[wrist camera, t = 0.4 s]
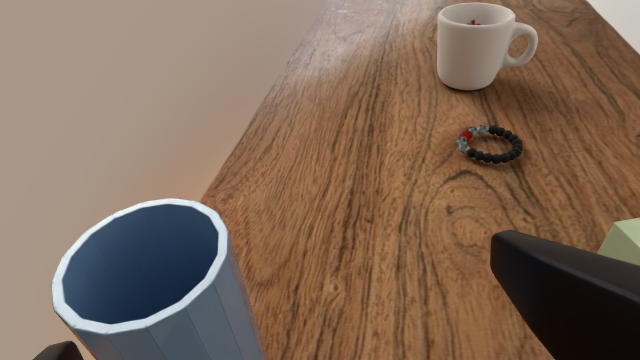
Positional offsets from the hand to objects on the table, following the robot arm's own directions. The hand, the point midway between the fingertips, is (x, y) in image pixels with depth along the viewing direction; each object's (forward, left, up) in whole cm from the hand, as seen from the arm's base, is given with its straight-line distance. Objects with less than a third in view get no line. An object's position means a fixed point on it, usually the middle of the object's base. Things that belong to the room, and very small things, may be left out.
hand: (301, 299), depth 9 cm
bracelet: (+24, -19, -16) cm, 35 cm away
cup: (+37, -24, -16) cm, 47 cm away
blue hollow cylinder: (+6, +6, -16) cm, 18 cm away
